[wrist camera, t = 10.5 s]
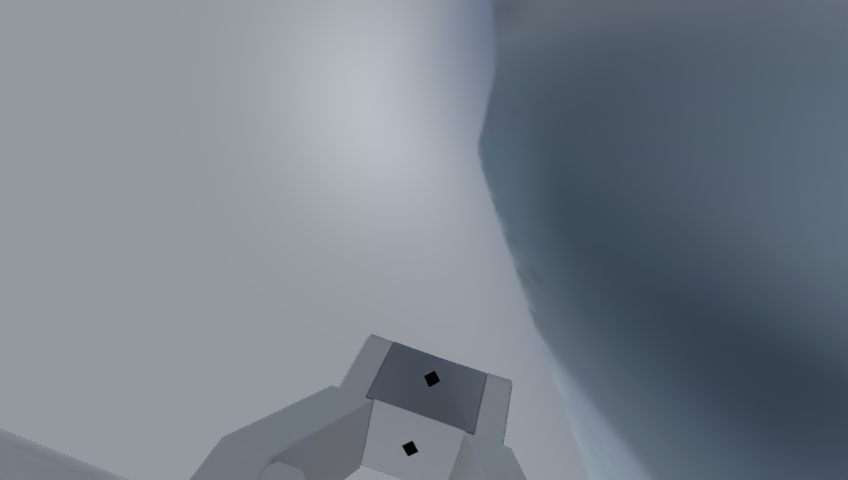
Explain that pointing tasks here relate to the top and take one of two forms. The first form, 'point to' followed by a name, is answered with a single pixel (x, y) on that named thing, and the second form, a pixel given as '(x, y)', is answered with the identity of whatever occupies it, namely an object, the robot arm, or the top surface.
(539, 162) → the top surface
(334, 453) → the robot arm
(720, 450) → the top surface
